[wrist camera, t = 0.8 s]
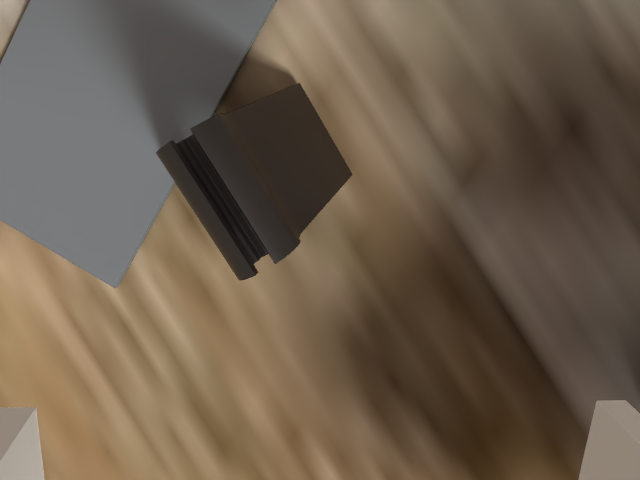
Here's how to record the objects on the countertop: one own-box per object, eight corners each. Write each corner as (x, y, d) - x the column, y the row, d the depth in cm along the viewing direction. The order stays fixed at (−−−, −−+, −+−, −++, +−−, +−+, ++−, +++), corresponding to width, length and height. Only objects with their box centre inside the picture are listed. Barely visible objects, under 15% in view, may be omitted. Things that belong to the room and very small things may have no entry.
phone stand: (300, 82, 31) (285, 69, 20) (352, 174, 32) (367, 213, 21) (168, 162, 32) (80, 195, 21) (223, 248, 34) (169, 324, 22)
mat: (299, -40, 31) (298, -43, 30) (117, 286, 34) (115, 288, 34) (110, -160, 30) (107, -164, 30) (-53, 185, 34) (-58, 185, 33)
